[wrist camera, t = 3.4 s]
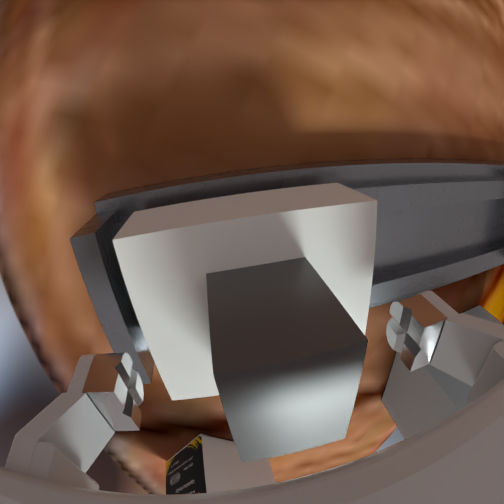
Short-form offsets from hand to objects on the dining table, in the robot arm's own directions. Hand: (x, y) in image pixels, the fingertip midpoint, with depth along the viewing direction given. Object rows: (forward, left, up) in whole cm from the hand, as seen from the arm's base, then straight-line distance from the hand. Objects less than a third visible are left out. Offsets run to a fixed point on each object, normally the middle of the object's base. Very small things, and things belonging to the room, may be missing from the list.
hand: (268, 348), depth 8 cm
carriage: (0, 0, -4) cm, 4 cm away
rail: (-8, 0, -7) cm, 11 cm away
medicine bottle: (+5, +20, -7) cm, 22 cm away
